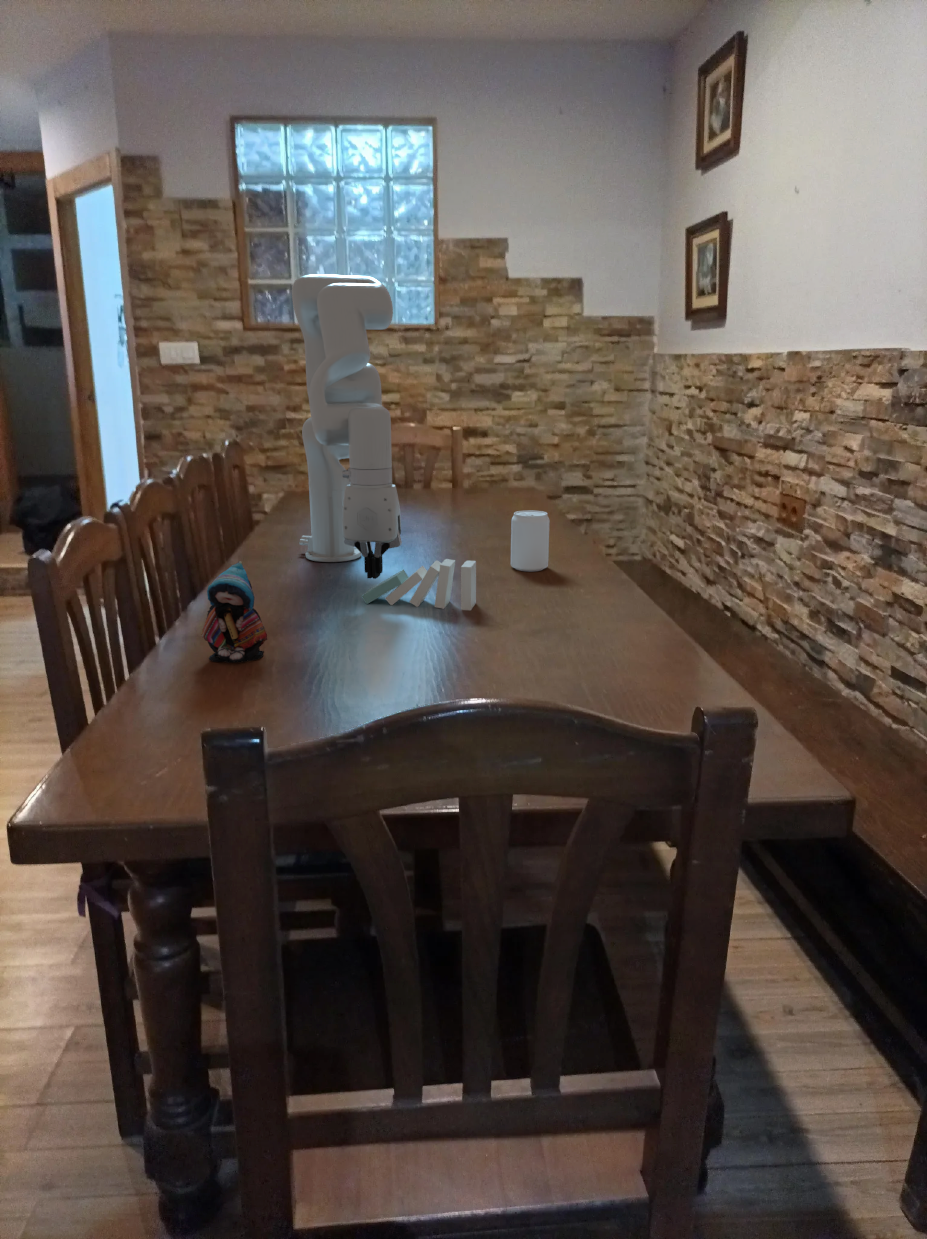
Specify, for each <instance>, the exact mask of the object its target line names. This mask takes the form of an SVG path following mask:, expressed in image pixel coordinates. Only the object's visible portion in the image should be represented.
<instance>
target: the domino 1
mask: <svg viewBox="0 0 927 1239" xmlns="http://www.w3.org/2000/svg"><path fill="white" fill-rule="evenodd" d="M409 577H410V576H408V573H407V572H406V571H405V568H404V569H401V570H400V571H398V572H396V573H395V574H393V575H391V576H390V577H388V578H386V579H385V580H383V581H381V582H379V583H378V584H376V585H374V586H372V587H370V588H369V589H368V590H367V591H365V593H362V595H361V598H362V599H363V601H364V602H365V604H366V605H368V604H369V603H371V602H373V601H376V600H377V599H378V598H380V597H382V596H384V595H386V594H387V593H390V592H392V591H393V590H395V589H396V588H397V587H398V586H399V585H401V584H402V583H403V582H404V581H405V580H407V579H408V578H409Z"/></svg>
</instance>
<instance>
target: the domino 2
mask: <svg viewBox="0 0 927 1239" xmlns="http://www.w3.org/2000/svg"><path fill="white" fill-rule="evenodd" d="M427 571H428V570H427V569H426V568H425V566H424V565H421V566H420V567H419V568H418V569H417V570H415V572H413V573H412V574H411V575H409V576H408V577H409V578H408V579H407V580H405V581H404V582H403V583H402V584H401V585H399V586H398V587H396V588H394V589H392V590H391V591H390V592H389V594H387V596H386V597H384V599H385V600H386V601H387V603H388V604H389V605H390V606H392V607H393V605H394V604H395V603H396V602H398V601H399V600H400V599H401V598H402V597H404V596H405V595H406V594H407V593H408V592H410V591H411V590H412V589H413V588H414V587H415V586H417V585H418V584H420V583H421V581H422V580H423V578H424V576H425V575H426V573H427Z"/></svg>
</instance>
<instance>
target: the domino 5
mask: <svg viewBox="0 0 927 1239" xmlns="http://www.w3.org/2000/svg"><path fill="white" fill-rule="evenodd" d="M460 589H461V590H460V610H461V611H472V609H473V608H474V606H475V605H476V604H477V561H476V560H465V561H464V563H463V564H462V565H461V566H460Z"/></svg>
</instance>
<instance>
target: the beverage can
mask: <svg viewBox="0 0 927 1239" xmlns="http://www.w3.org/2000/svg"><path fill="white" fill-rule="evenodd" d="M550 522H551V521H550V518H549V516H548V512H547V511H543V510H532V509H531V510H518V511H515V512H513V516H512V517H511V523H510V524H511V529H510V531H511V532H510V534H511V535H510V567H512V568H513V569H515V570H517V571H520V572H530V573H531V572H540V571H543V570H545V569H547V568H548V566H549V555H550V554H549V553H550V552H549V548H550V547H549V546H550Z"/></svg>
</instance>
